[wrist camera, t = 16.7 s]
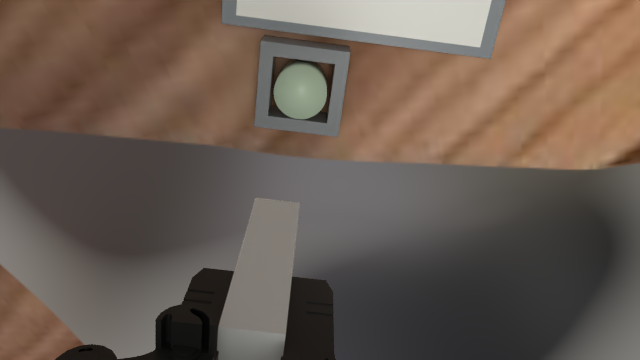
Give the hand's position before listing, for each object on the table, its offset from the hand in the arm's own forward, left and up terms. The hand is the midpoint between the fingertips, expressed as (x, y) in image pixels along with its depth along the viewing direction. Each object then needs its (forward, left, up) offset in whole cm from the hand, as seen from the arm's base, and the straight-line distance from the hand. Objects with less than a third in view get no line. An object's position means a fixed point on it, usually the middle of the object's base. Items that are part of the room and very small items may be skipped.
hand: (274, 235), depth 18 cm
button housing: (0, 0, -22) cm, 22 cm away
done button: (0, 0, -22) cm, 22 cm away
